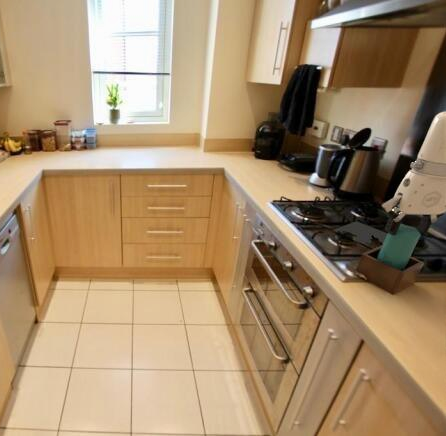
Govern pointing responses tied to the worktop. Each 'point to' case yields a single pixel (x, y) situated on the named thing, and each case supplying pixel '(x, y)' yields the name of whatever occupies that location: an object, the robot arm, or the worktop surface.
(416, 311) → the worktop surface
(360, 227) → the mat
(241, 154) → the worktop surface
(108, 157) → the worktop surface
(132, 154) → the worktop surface
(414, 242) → the beverage bottle
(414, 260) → the open box
